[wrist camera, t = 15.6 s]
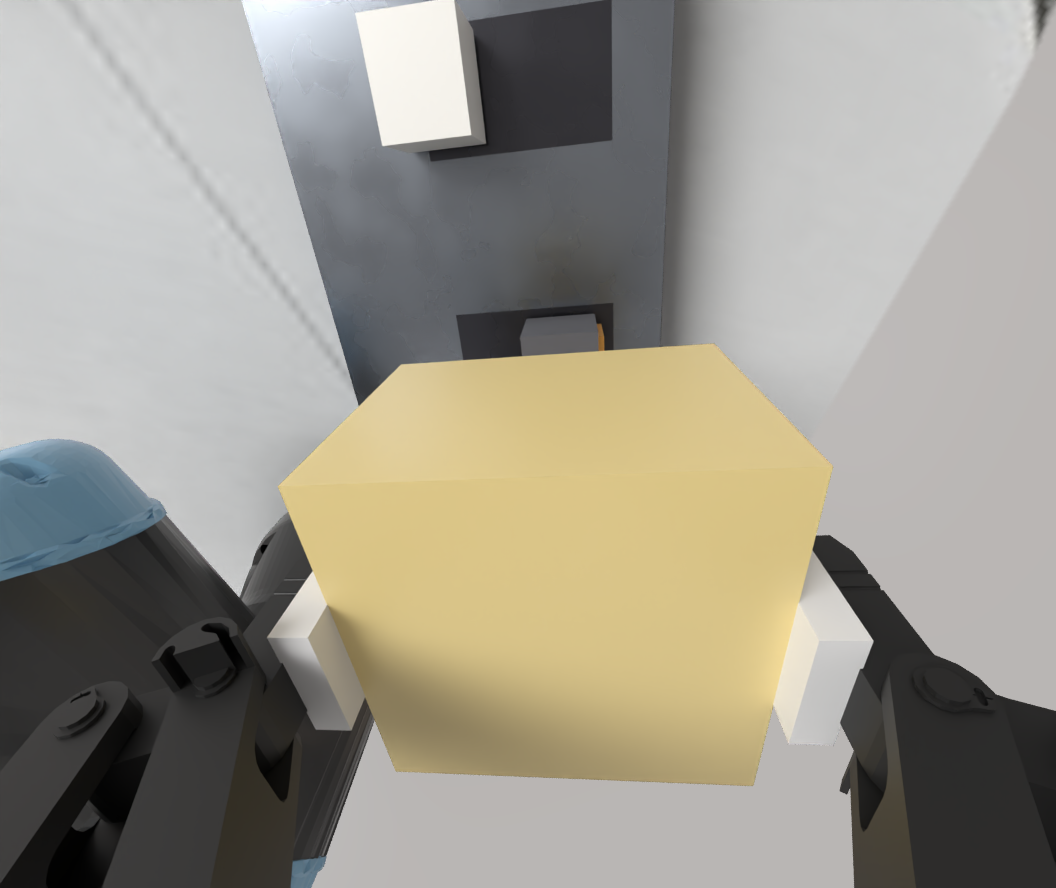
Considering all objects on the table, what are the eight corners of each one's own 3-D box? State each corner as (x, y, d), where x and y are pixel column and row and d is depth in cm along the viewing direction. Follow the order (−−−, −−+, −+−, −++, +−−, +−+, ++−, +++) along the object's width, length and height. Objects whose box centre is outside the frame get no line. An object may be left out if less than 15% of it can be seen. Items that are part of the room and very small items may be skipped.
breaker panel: (648, 420, 30) (656, 441, 28) (388, 432, 33) (372, 453, 30) (664, -65, 20) (679, -105, 17) (274, 0, 22) (233, -27, 19)
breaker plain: (486, 143, 21) (471, 135, 18) (410, 153, 21) (382, 146, 18) (473, 29, 19) (453, -3, 16) (389, 41, 20) (355, 12, 16)
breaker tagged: (601, 384, 26) (606, 410, 23) (533, 388, 26) (528, 414, 23) (600, 313, 24) (604, 331, 21) (526, 318, 25) (520, 337, 21)
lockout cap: (691, 584, 15) (753, 786, 10) (452, 586, 16) (395, 771, 11) (714, 343, 12) (833, 465, 6) (401, 364, 13) (277, 486, 7)
